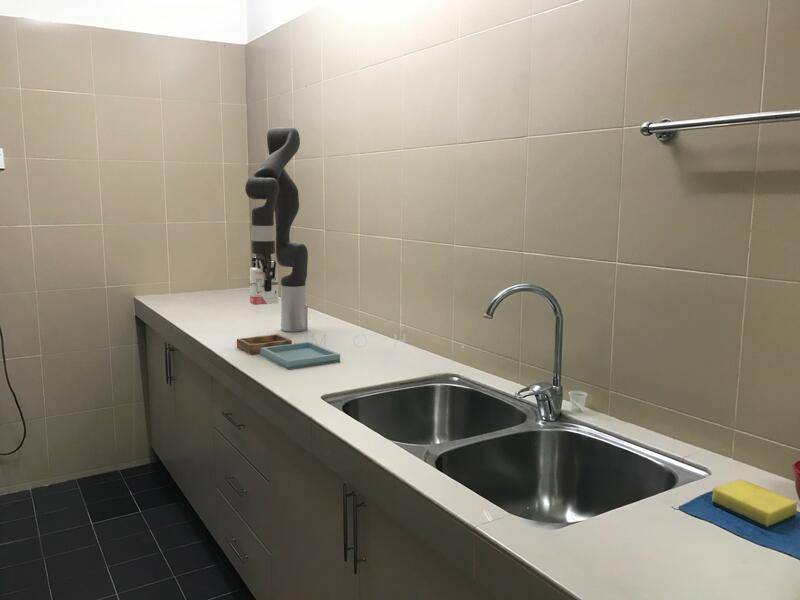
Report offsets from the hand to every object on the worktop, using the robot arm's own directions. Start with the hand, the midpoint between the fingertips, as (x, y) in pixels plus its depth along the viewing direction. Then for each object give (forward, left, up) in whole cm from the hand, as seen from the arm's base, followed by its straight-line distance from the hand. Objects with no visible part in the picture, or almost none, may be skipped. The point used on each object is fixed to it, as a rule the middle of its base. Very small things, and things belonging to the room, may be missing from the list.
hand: (264, 289), depth 220 cm
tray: (-4, +18, -20) cm, 27 cm away
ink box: (0, 0, -5) cm, 5 cm away
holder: (0, 0, -20) cm, 20 cm away
